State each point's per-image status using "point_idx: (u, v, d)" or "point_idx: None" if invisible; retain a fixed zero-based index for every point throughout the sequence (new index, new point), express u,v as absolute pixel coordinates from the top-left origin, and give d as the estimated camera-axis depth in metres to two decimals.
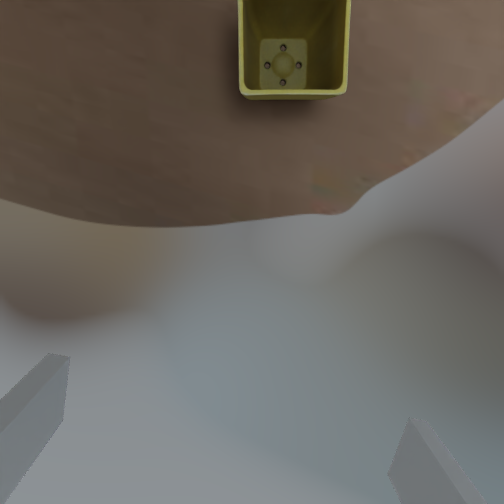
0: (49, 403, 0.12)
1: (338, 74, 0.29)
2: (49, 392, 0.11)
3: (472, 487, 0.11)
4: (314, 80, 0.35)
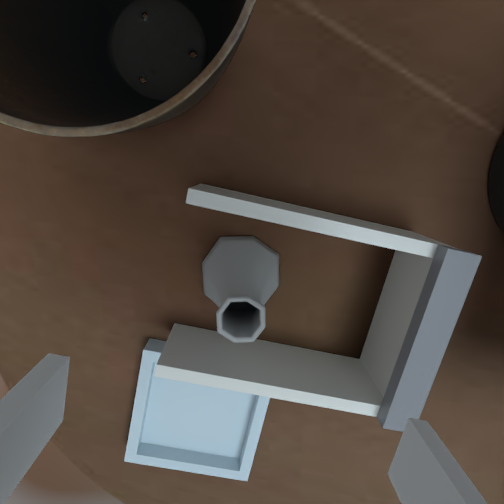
0: (49, 403, 0.12)
1: None
2: (49, 392, 0.11)
3: (472, 487, 0.11)
4: None
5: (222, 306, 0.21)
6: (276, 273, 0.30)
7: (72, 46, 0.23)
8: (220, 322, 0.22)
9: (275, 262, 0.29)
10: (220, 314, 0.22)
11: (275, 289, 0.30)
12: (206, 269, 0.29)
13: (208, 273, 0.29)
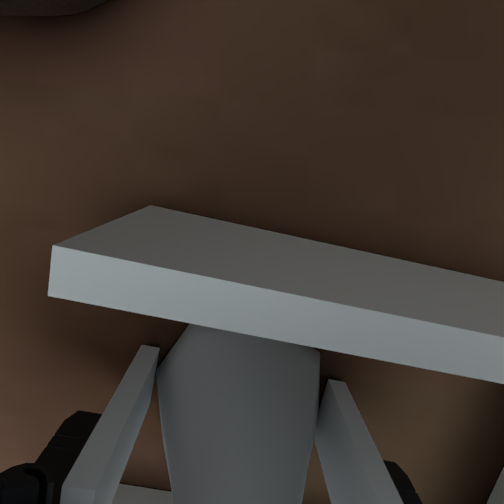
0: (148, 387, 0.13)
1: None
2: (149, 377, 0.13)
3: (367, 432, 0.12)
4: None
5: None
6: (316, 400, 0.14)
7: None
8: None
9: (316, 380, 0.13)
10: None
11: None
12: (160, 398, 0.13)
13: (162, 415, 0.12)
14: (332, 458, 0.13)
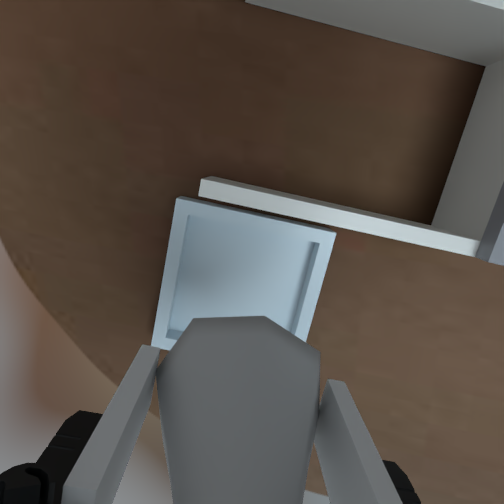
0: (149, 387, 0.13)
1: None
2: (150, 377, 0.13)
3: (366, 432, 0.12)
4: None
5: None
6: (316, 400, 0.14)
7: None
8: None
9: (316, 379, 0.13)
10: None
11: (314, 435, 0.14)
12: (160, 398, 0.13)
13: (162, 414, 0.12)
14: (331, 457, 0.13)
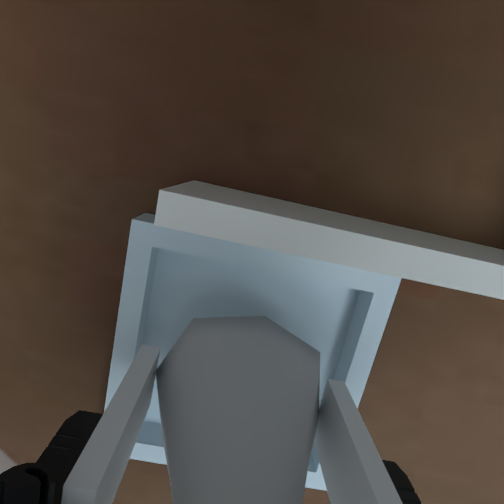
0: (149, 387, 0.13)
1: None
2: (150, 377, 0.13)
3: (366, 432, 0.12)
4: None
5: None
6: (316, 400, 0.14)
7: None
8: None
9: (316, 379, 0.13)
10: None
11: (314, 435, 0.14)
12: (160, 398, 0.13)
13: (162, 414, 0.12)
14: (331, 457, 0.13)
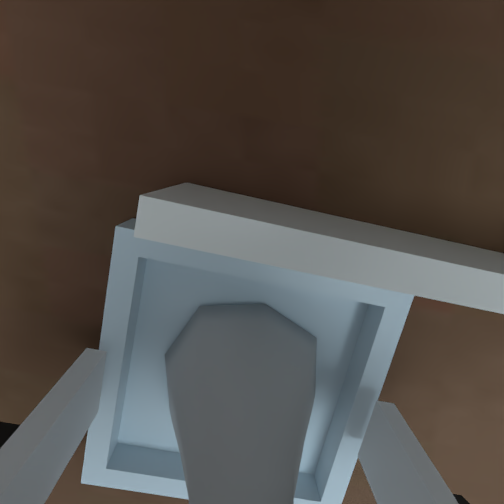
0: (90, 394, 0.12)
1: None
2: (90, 383, 0.12)
3: (429, 462, 0.11)
4: None
5: None
6: (312, 381, 0.15)
7: None
8: None
9: (312, 361, 0.14)
10: None
11: (310, 413, 0.15)
12: (170, 378, 0.14)
13: (172, 392, 0.14)
14: (388, 488, 0.12)
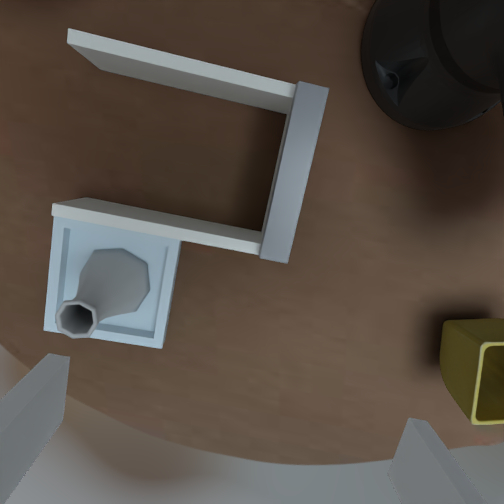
0: (49, 403, 0.12)
1: None
2: (49, 392, 0.11)
3: (472, 487, 0.11)
4: (494, 358, 0.40)
5: (59, 309, 0.26)
6: (142, 280, 0.35)
7: None
8: (59, 322, 0.27)
9: (140, 271, 0.35)
10: (58, 315, 0.27)
11: (141, 294, 0.35)
12: (79, 278, 0.34)
13: (79, 281, 0.34)
14: None
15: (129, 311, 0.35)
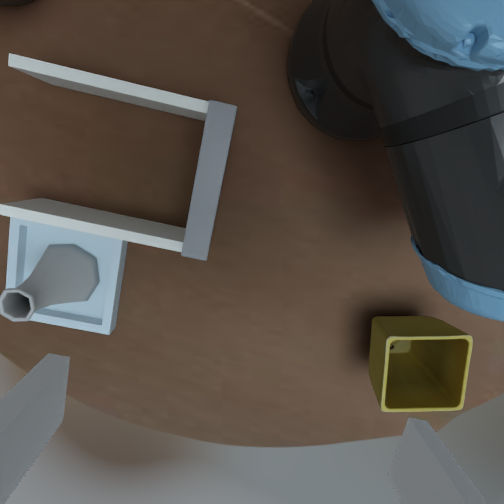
0: (49, 403, 0.12)
1: (454, 389, 0.38)
2: (49, 392, 0.11)
3: (473, 487, 0.11)
4: (419, 353, 0.43)
5: (1, 295, 0.31)
6: (90, 273, 0.39)
7: None
8: (1, 307, 0.31)
9: (87, 264, 0.39)
10: (0, 301, 0.31)
11: (89, 285, 0.39)
12: None
13: None
14: None
15: (78, 300, 0.39)
